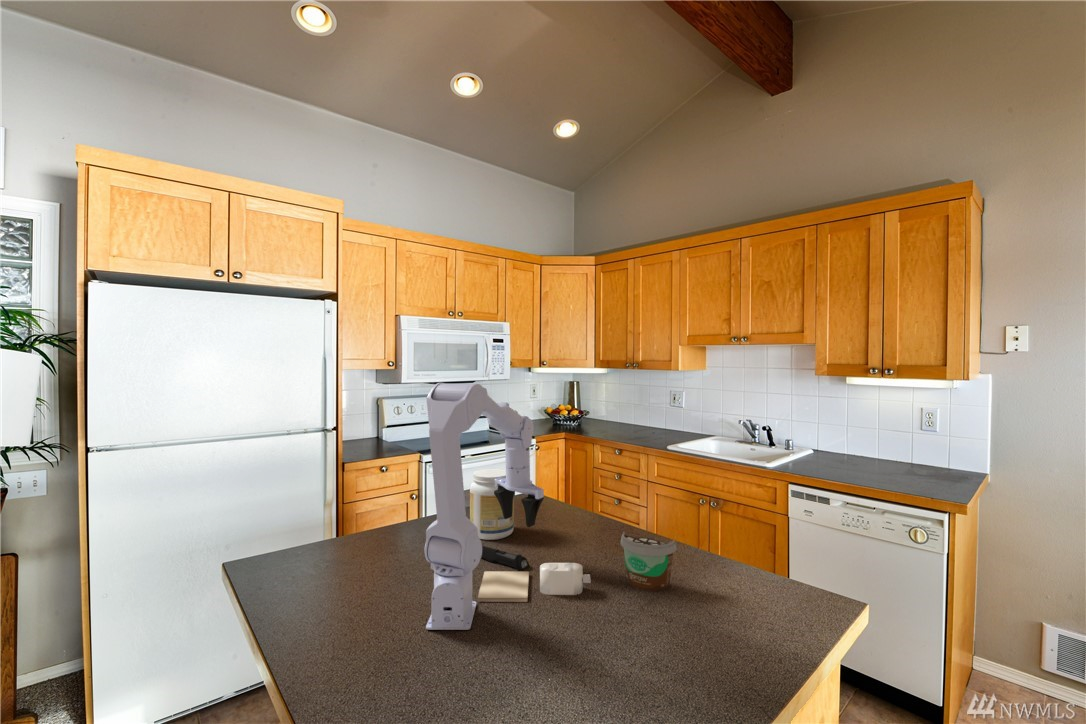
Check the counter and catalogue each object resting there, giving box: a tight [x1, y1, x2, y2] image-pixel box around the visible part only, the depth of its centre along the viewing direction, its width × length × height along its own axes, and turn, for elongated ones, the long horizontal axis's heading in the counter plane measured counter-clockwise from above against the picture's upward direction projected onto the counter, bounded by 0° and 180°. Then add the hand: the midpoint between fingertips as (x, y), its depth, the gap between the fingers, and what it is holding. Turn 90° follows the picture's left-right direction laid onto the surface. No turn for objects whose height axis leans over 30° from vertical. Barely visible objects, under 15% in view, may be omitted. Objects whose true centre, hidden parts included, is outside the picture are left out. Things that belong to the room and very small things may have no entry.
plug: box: [539, 562, 591, 596], centre depth 103 cm, size 11×4×5 cm, turn 90°
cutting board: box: [477, 570, 530, 603], centre depth 104 cm, size 12×10×1 cm
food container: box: [620, 531, 678, 592], centre depth 105 cm, size 12×6×10 cm, turn 62°
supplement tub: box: [469, 468, 515, 541], centre depth 136 cm, size 12×12×17 cm
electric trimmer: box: [481, 545, 530, 572], centre depth 118 cm, size 4×16×3 cm, turn 56°
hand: (519, 521), depth 117 cm, fingers open, 7 cm apart
